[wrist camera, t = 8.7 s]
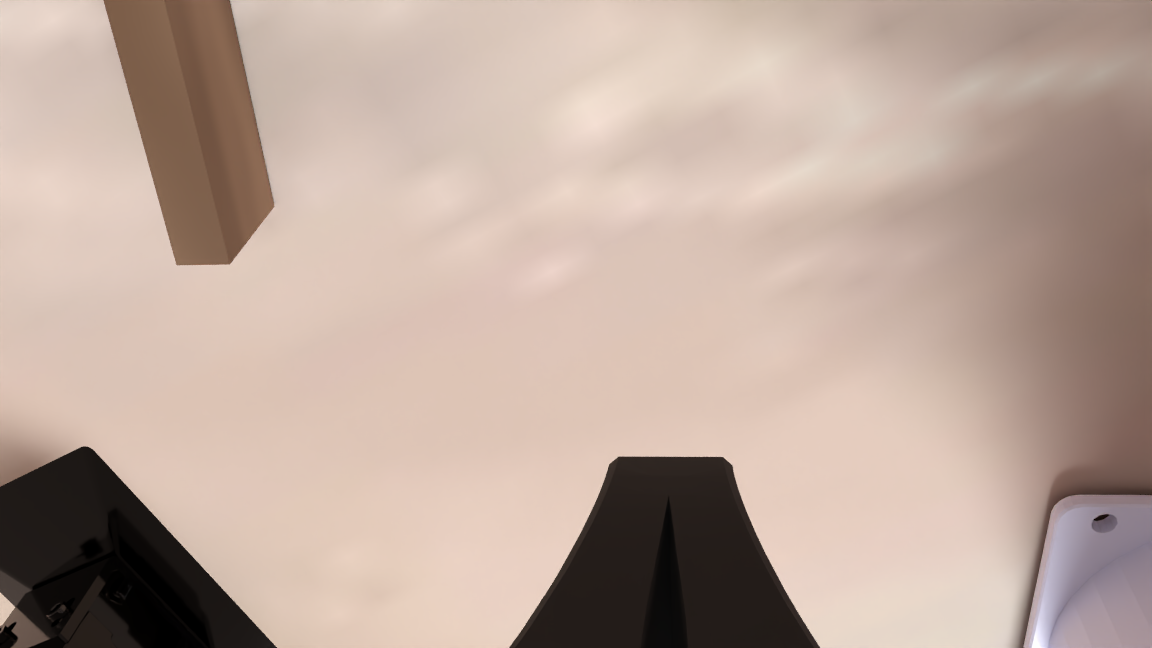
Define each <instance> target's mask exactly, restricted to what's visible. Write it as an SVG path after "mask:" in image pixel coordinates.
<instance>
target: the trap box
mask: <svg viewBox="0 0 1152 648" xmlns="http://www.w3.org/2000/svg"><path fill="white" fill-rule="evenodd" d="M104 4H105V7H106V11H107V14H108V18H109V22H110V25H111V29H112V33H113V36H114V40H115V43H116V47H117V51H118V54H119V58H120V62H121V65H122V69H123V72H124V76H125V80H126V83H127V87H128V91H129V94H130V98H131V101H132V105H133V109H134V112H135V116H136V120H137V123H138V127H139V130H140V134H141V138H142V141H143V145H144V149H145V152H146V156H147V159H148V163H149V167H150V170H151V174H152V178H153V181H154V185H155V188H156V192H157V196H158V199H159V203H160V207H161V210H162V214H163V217H164V221H165V225H166V228H167V232H168V236H169V239H170V243H171V246H172V250H173V254H174V257H175V261H176V265H219V264H230V263H231V262H232V261H233V259H234V258H235V257H236V256H237V254H238V253H239V252H240V250H241V249H242V248H243V246H244V245H245V244H246V243H247V241H248V240H249V239H250V237H251V236H252V235H253V233H254V232H255V231H256V230H257V228H258V227H259V226H260V224H261V223H262V222H263V220H264V219H265V218H266V217H267V215H268V214H269V213H270V211H271V210H272V209H273V208H274V203H273V198H272V194H271V189H270V185H269V180H268V175H267V171H266V166H265V162H264V157H263V152H262V148H261V143H260V139H259V134H258V130H257V125H256V120H255V116H254V111H253V107H252V102H251V97H250V93H249V88H248V84H247V79H246V75H245V70H244V65H243V61H242V56H241V52H240V47H239V43H238V38H237V33H236V29H235V24H234V20H233V15H232V10H231V6H230V1H229V0H104Z"/></svg>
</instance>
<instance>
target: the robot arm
mask: <svg viewBox="0 0 1152 648" xmlns="http://www.w3.org/2000/svg"><path fill="white" fill-rule="evenodd" d="M1103 514H1110V515H1109V516H1108V517H1107V518H1105V519H1103V520H1099V521H1094V518H1096V517H1098V516H1099V515H1103ZM509 648H820V647H819V645H818V644H817V642H816V641H815V639H814V638H813V636H812V635H811V633H810V631H809V630H808V628H807V626H806V625H805V623H804V622H803V620H802V618H801V617H800V615H799V614H798V612H797V610H796V609H795V607H794V605H793V603H792V602H791V600H790V598H789V597H788V595H787V593H786V591H785V590H784V588H783V586H782V584H781V582H780V580H779V578H778V576H777V574H776V573H775V571H774V569H773V567H772V565H771V563H770V561H769V559H768V557H767V556H766V554H765V552H764V550H763V548H762V545H761V543H760V541H759V539H758V537H757V535H756V533H755V530H754V528H753V526H752V523H751V521H750V519H749V516H748V514H747V512H746V509H745V507H744V504H743V501H742V499H741V496H740V493H739V490H738V487H737V484H736V480H735V477H734V472H733V467H732V465H731V464H730V463H729V462H728V461H727V460H726V459H725V458H723V457H618V458H617V459H615V460H614V461H613V462H612V463H611V464H609V467H608V471H607V474H606V477H605V480H604V483H603V485H602V488H601V491H600V493H599V495H598V498H597V500H596V502H595V505H594V507H593V509H592V511H591V513H590V515H589V517H588V519H587V521H586V523H585V526H584V528H583V530H582V532H581V534H580V535H579V537H578V539H577V541H576V543H575V544H574V546H573V548H572V550H571V552H570V553H569V555H568V557H567V559H566V561H565V563H564V564H563V566H562V568H561V570H560V572H559V573H558V575H557V577H556V578H555V580H554V582H553V583H552V585H551V586H550V588H549V590H548V591H547V593H546V594H545V596H544V597H543V599H542V600H541V602H540V603H539V605H538V606H537V608H536V609H535V611H534V613H533V614H532V616H531V617H530V619H529V620H528V622H527V623H526V625H525V626H524V628H523V629H522V631H521V632H520V634H519V635H518V636H517V638H516V639H515V640H514V642H513V643H512V645H511V646H510V647H509ZM1023 648H1152V495H1073V496H1068V497H1066V498H1064V499H1061V500H1060V501H1059V502H1058V503H1057V504H1056V505H1054V507H1053V509H1052V512H1051V515H1050V520H1049V525H1048V530H1047V535H1046V540H1045V545H1044V549H1043V554H1042V559H1041V564H1040V569H1039V574H1038V579H1037V583H1036V588H1035V593H1034V598H1033V603H1032V608H1031V613H1030V618H1029V622H1028V627H1027V632H1026V637H1025V642H1024V647H1023Z"/></svg>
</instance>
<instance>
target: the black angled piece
mask: <svg viewBox="0 0 1152 648" xmlns="http://www.w3.org/2000/svg"><path fill="white" fill-rule="evenodd" d="M0 592H1V593H2V594H3V595H4V596H5V597H6V598H7V599H8V600H9V601H10V602H11V603H12V604H13V605H14V606H15V609H14V610H13V611H12V613H11V614H10V616H9V617H8V618H7V620H6V621H5V622H4V624H3V625H1V626H0V648H277V647H276V646H275V645H274V644H273V643H272V642H271V641H270V640H269V639H268V638H267V637H266V635H265V634H264V633H263V632H262V631H261V630H260V629H259V628H258V627H257V626H256V625H255V624H254V623H253V621H252V620H251V619H250V618H249V617H248V616H247V615H246V614H245V613H244V612H243V611H242V610H241V609H240V607H239V606H238V605H237V604H236V603H235V602H234V601H233V600H232V599H231V598H230V597H229V596H228V595H227V593H226V592H225V591H224V590H223V589H222V588H221V587H220V586H219V585H218V584H217V583H216V582H215V581H214V579H213V578H212V577H211V576H210V575H209V574H208V573H207V572H206V571H205V570H204V569H203V568H202V567H201V565H200V564H199V563H198V562H197V561H196V560H195V559H194V558H193V557H192V556H191V555H190V554H189V553H188V551H187V550H186V549H185V548H184V547H183V546H182V545H181V544H180V543H179V542H178V541H177V540H176V539H175V537H174V536H173V535H172V534H171V533H170V532H169V531H168V530H167V529H166V528H165V527H164V526H163V525H162V523H161V522H160V521H159V520H158V519H157V518H156V517H155V516H154V515H153V514H152V513H151V512H150V511H149V509H148V508H147V507H146V506H145V505H144V504H143V503H142V502H141V501H140V500H139V499H138V498H137V497H136V495H135V494H134V493H133V492H132V491H131V490H130V489H129V488H128V487H127V486H126V485H125V484H124V483H123V481H122V480H121V479H120V478H119V477H118V476H117V475H116V474H115V473H114V472H113V471H112V470H111V469H110V467H109V466H108V465H107V464H106V463H105V462H104V461H103V460H102V459H101V458H100V457H99V456H98V455H97V453H96V452H95V451H94V450H93V449H91V448H89V447H81V448H79V449H76V450H74V451H72V452H70V453H68V454H66V455H64V456H62V457H60V458H58V459H56V460H54V461H52V462H50V463H48V464H46V465H44V466H42V467H40V468H38V469H36V470H34V471H32V472H30V473H28V474H25V475H23V476H21V477H19V478H17V479H15V480H13V481H11V482H9V483H7V484H5V485H3V486H1V487H0Z"/></svg>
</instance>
